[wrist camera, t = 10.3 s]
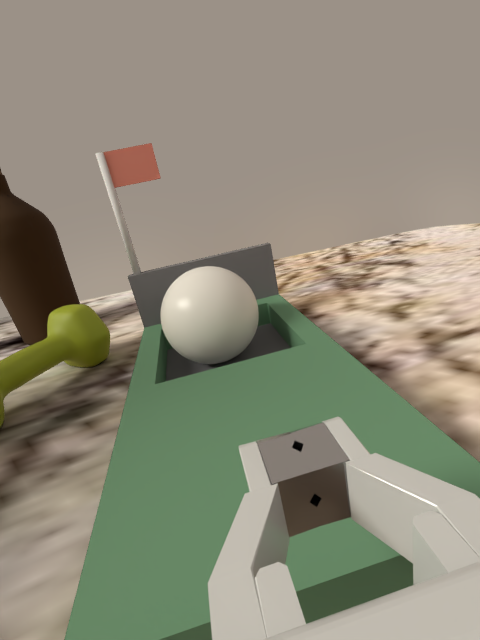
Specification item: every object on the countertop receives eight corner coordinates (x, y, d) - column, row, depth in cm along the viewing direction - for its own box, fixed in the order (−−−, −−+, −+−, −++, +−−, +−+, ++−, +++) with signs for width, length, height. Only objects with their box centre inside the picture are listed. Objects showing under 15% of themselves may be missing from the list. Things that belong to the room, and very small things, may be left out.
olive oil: (66, 342, 48) (-13, 154, 39) (4, 351, 50) (-86, 173, 41) (102, 315, 58) (44, 160, 49) (48, 324, 60) (-16, 175, 51)
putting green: (524, 566, 12) (669, -343, 5) (91, 726, 11) (-640, -289, 3) (280, 315, 41) (248, 125, 34) (152, 347, 40) (90, 156, 32)
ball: (176, 283, 36) (211, 356, 37) (122, 298, 28) (169, 392, 29) (246, 247, 33) (284, 329, 33) (207, 252, 24) (258, 361, 25)
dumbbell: (81, 354, 43) (60, 301, 40) (126, 356, 39) (106, 299, 37) (-69, 443, 29) (-115, 373, 27) (-22, 460, 26) (-70, 380, 23)
